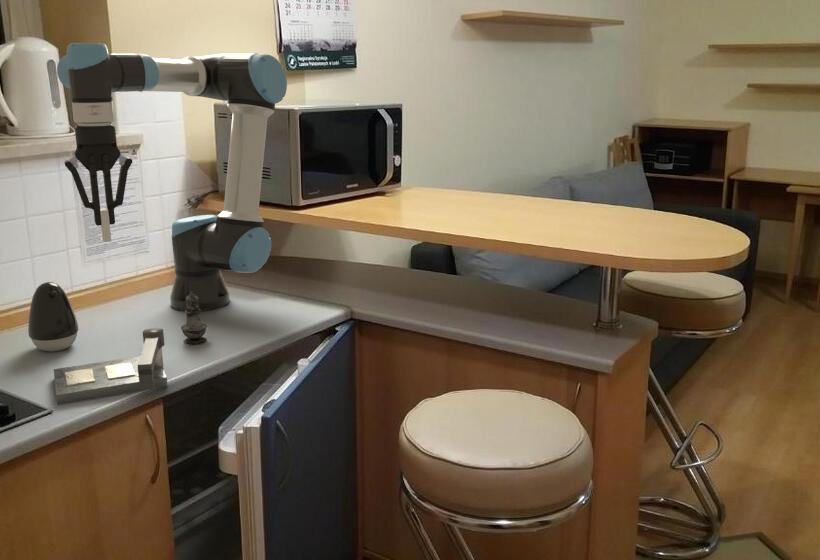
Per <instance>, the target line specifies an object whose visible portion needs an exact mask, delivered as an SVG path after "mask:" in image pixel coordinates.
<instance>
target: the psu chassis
mask: <svg viewBox="0 0 820 560" xmlns="http://www.w3.org/2000/svg"><path fill="white" fill-rule="evenodd" d="M139 358H140V355H139V356H133V357H126V358H120V359H119V358H118V359H113V360H108V361H107V360H106V361H100V362H93V363H87V364H80V365H79V364H78V365H75V366H74V365H73V366H72V365H71V366H66V367H60V368H53V374H54V375H53V376H54V384H55V392H56V401H57V402H56V403H57V406H59V405H65V404H71V403H78V402H83V401H88V400H96V399H101V398H107V397H108V398H109V397H113V396H119V395H125V394H131V393H132V394H133V393H137V392H143V391H145V390H140V386H139V376H138V366H137V365H138V361H139ZM163 358H164V357H163V346H162V347H160V348H159V349H158V353H157V357H156V361H155V365H154V369H153V382H154V389H153V390H156V389H160V388H168V386H169V385H168V377H167V374H166V372H165V369H164V368H165V367H164V359H163Z"/></svg>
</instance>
